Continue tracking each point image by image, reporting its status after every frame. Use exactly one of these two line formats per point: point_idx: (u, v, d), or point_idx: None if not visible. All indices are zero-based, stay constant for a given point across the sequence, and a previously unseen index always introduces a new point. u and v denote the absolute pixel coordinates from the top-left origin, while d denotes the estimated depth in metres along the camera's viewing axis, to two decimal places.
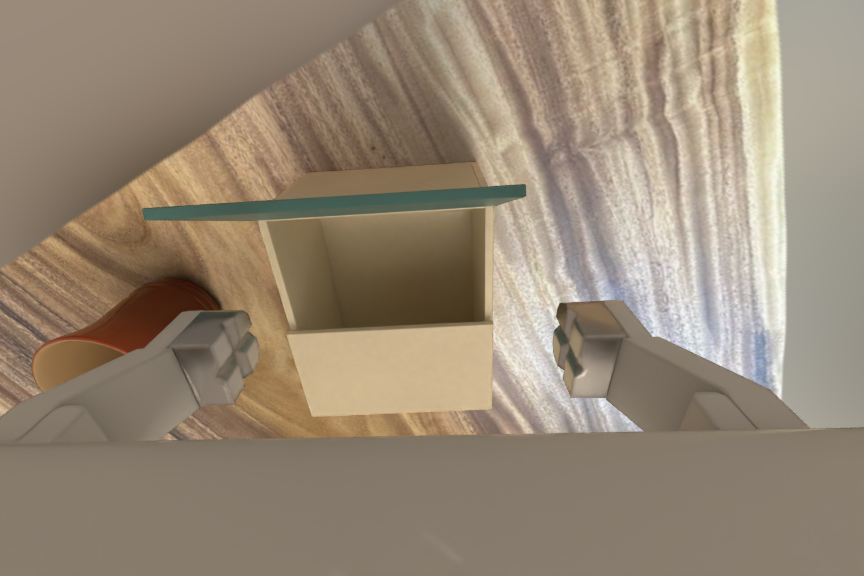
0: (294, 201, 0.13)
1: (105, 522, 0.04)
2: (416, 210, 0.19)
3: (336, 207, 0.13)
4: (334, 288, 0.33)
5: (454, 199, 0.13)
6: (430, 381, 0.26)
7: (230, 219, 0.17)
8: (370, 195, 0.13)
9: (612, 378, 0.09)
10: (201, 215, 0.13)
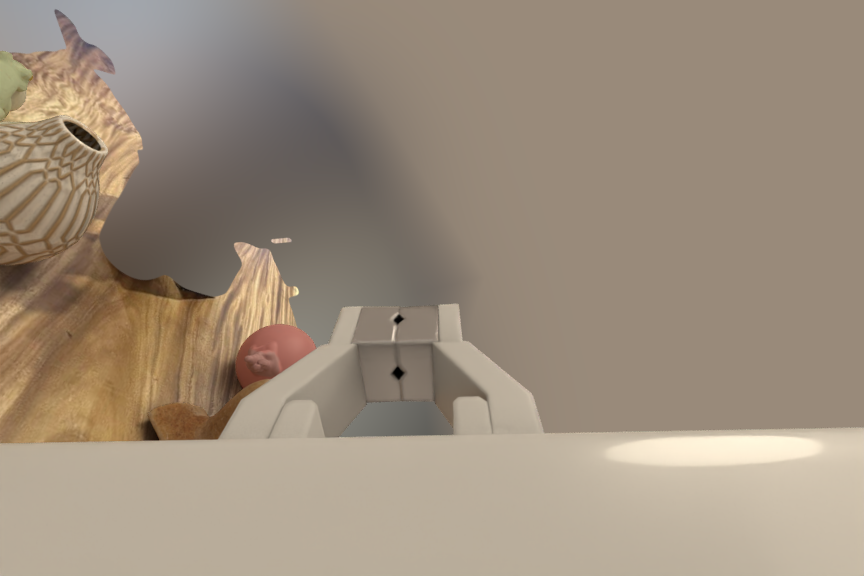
0: None
1: (105, 522, 0.04)
2: None
3: None
4: None
5: None
6: None
7: None
8: None
9: (434, 382, 0.09)
10: None
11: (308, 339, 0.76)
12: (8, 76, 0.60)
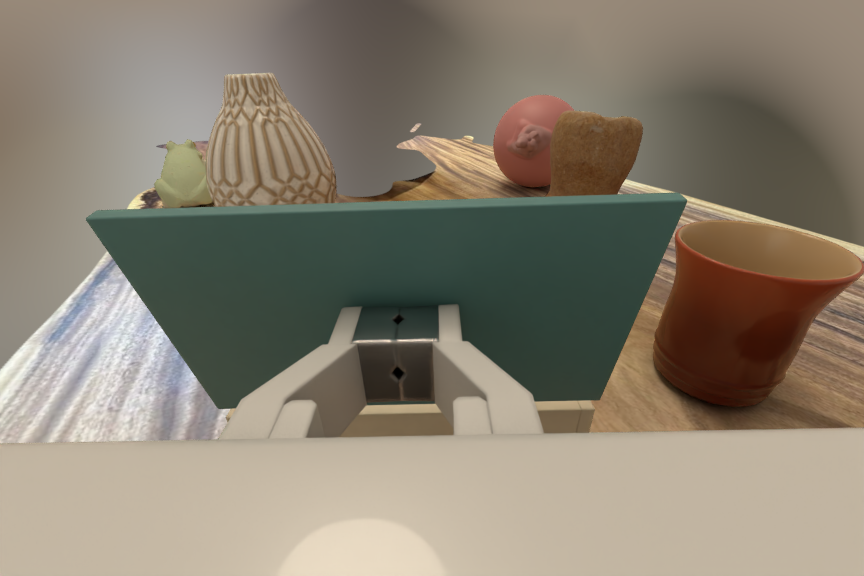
0: (439, 206, 0.08)
1: (105, 522, 0.04)
2: None
3: (377, 203, 0.08)
4: None
5: (199, 207, 0.08)
6: None
7: None
8: (320, 210, 0.08)
9: (434, 382, 0.09)
10: (587, 196, 0.08)
11: (540, 95, 0.65)
12: (186, 152, 0.67)
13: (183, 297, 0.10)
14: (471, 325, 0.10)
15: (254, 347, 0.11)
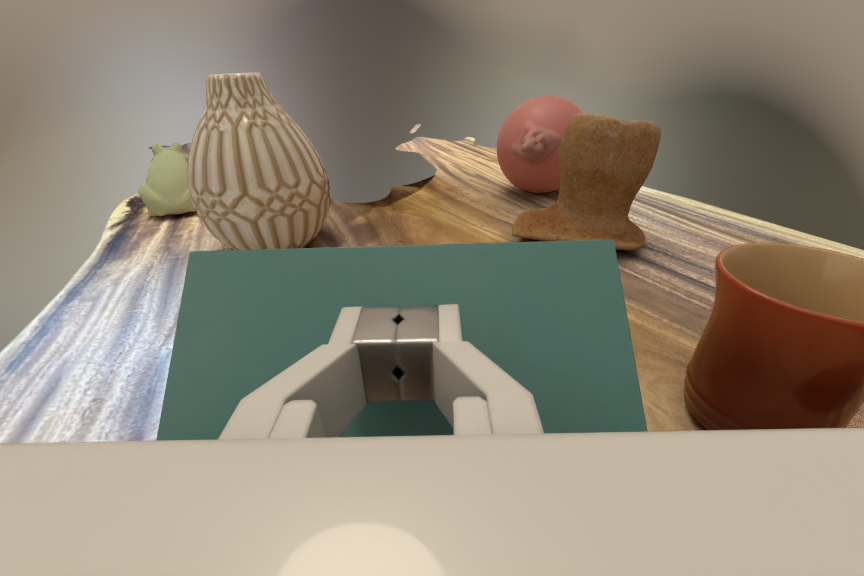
0: (440, 245, 0.12)
1: (105, 522, 0.04)
2: None
3: None
4: None
5: None
6: None
7: None
8: (356, 247, 0.12)
9: (434, 382, 0.09)
10: None
11: (546, 96, 0.61)
12: (173, 156, 0.64)
13: (214, 324, 0.11)
14: None
15: (247, 393, 0.10)
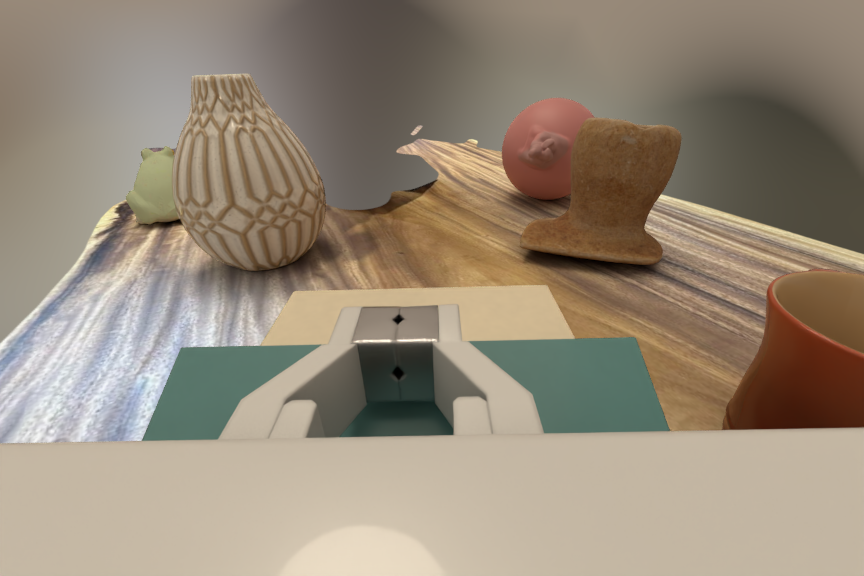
0: None
1: (105, 522, 0.04)
2: None
3: None
4: None
5: None
6: None
7: None
8: None
9: (434, 382, 0.09)
10: None
11: (555, 98, 0.58)
12: (163, 160, 0.61)
13: (189, 429, 0.10)
14: None
15: None
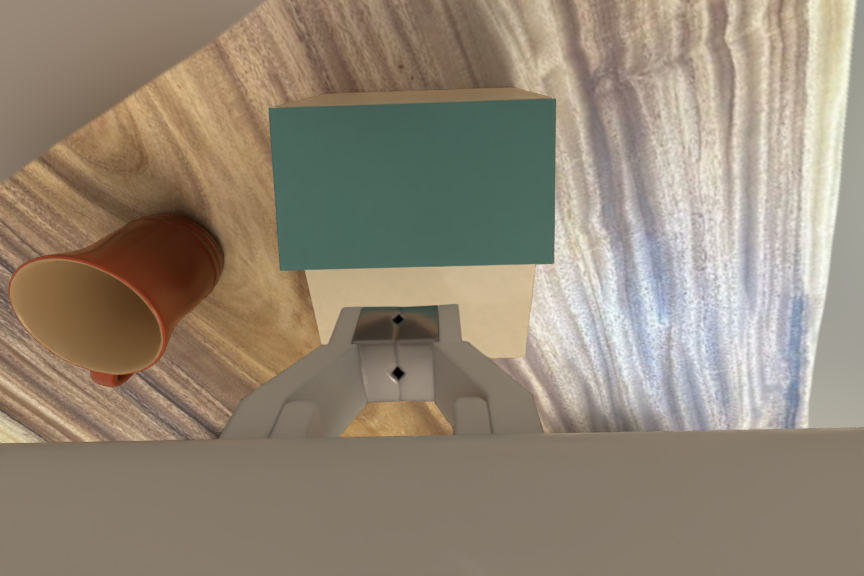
0: (390, 267, 0.18)
1: (105, 522, 0.04)
2: None
3: None
4: None
5: (502, 264, 0.18)
6: (460, 321, 0.23)
7: None
8: (444, 266, 0.18)
9: (434, 382, 0.09)
10: None
11: None
12: None
13: (530, 213, 0.18)
14: (369, 190, 0.17)
15: (504, 171, 0.17)
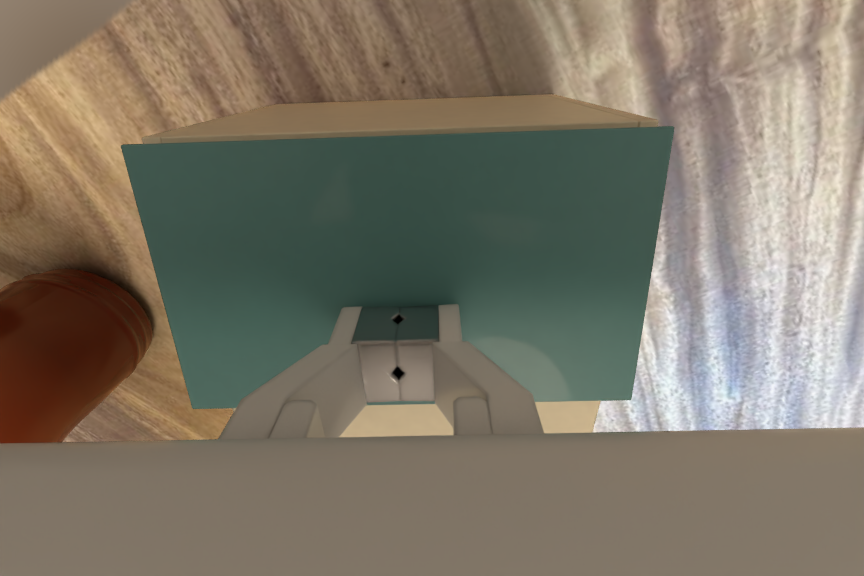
0: (368, 403, 0.11)
1: (105, 522, 0.04)
2: None
3: None
4: None
5: None
6: None
7: None
8: None
9: (434, 382, 0.09)
10: None
11: None
12: None
13: (601, 327, 0.10)
14: (326, 291, 0.10)
15: (563, 260, 0.10)
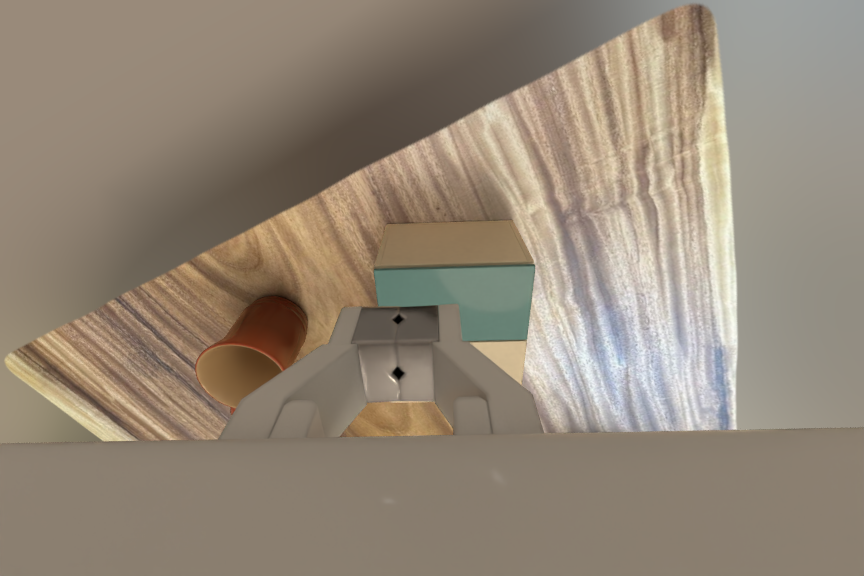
0: None
1: (105, 522, 0.04)
2: None
3: None
4: None
5: None
6: None
7: None
8: (469, 340, 0.34)
9: (434, 382, 0.09)
10: None
11: None
12: None
13: (516, 318, 0.33)
14: None
15: (504, 299, 0.32)
